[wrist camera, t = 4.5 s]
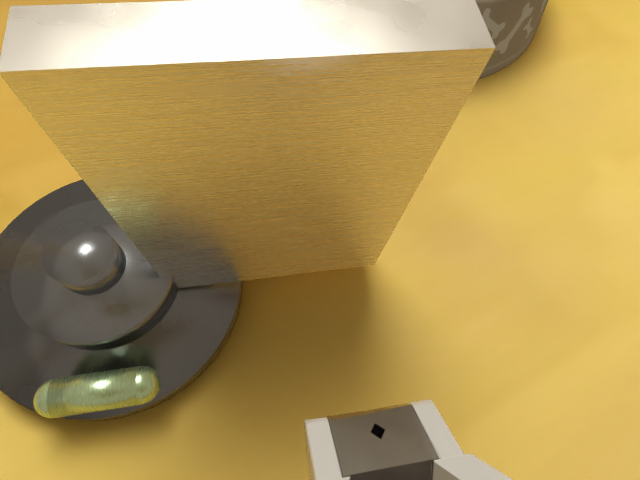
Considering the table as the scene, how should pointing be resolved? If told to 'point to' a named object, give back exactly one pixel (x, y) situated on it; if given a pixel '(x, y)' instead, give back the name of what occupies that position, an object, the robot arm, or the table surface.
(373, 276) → the table surface
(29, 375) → the base
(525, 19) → the dog bowl
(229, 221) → the upright slab
